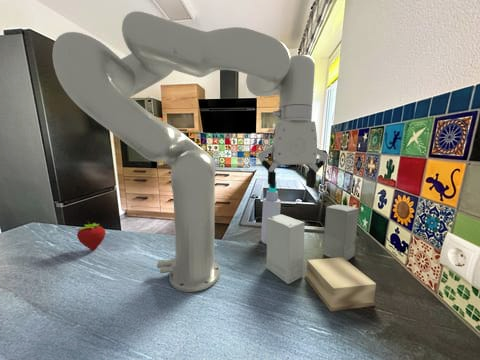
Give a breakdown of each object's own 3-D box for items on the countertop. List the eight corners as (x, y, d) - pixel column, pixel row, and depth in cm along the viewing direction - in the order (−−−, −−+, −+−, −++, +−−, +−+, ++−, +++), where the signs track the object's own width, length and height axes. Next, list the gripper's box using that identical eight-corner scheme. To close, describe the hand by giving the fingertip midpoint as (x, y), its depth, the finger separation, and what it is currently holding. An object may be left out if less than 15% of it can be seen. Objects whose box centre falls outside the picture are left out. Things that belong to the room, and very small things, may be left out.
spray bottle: (259, 237, 70) (262, 179, 66) (275, 237, 70) (279, 180, 67) (262, 245, 64) (265, 182, 60) (280, 245, 64) (284, 182, 61)
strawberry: (97, 256, 55) (94, 223, 53) (72, 254, 55) (69, 222, 54) (111, 246, 61) (109, 216, 59) (89, 244, 61) (86, 215, 60)
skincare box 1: (303, 277, 48) (307, 222, 46) (286, 286, 45) (291, 227, 43) (279, 261, 55) (282, 212, 53) (264, 267, 52) (266, 216, 50)
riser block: (330, 311, 38) (333, 289, 37) (304, 277, 48) (306, 259, 47) (374, 305, 40) (377, 284, 39) (340, 274, 50) (342, 256, 49)
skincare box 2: (342, 264, 54) (349, 212, 52) (319, 253, 60) (324, 206, 57) (355, 255, 59) (362, 207, 57) (333, 246, 65) (338, 202, 62)
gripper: (261, 112, 40) (259, 190, 43) (339, 114, 41) (332, 190, 44) (256, 118, 48) (255, 184, 50) (322, 119, 49) (317, 184, 51)
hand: (291, 187), depth 47 cm, fingers open, 9 cm apart
